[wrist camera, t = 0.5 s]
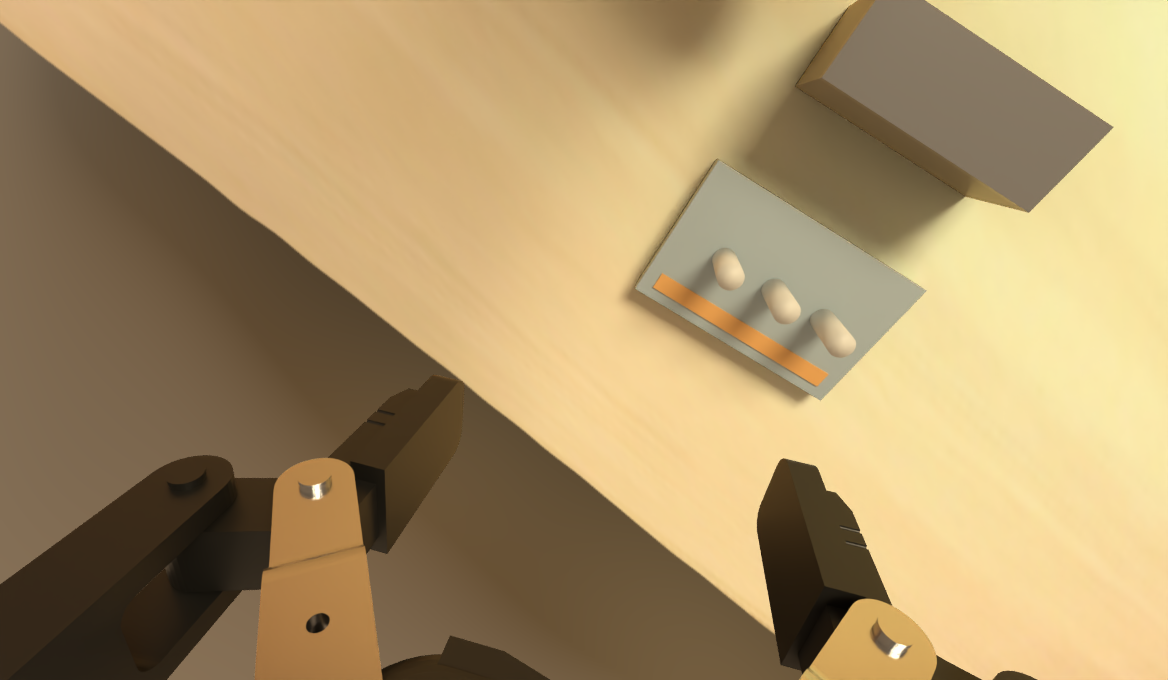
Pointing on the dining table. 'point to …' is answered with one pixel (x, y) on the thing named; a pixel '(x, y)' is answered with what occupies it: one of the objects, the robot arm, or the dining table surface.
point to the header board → (784, 258)
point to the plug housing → (950, 102)
